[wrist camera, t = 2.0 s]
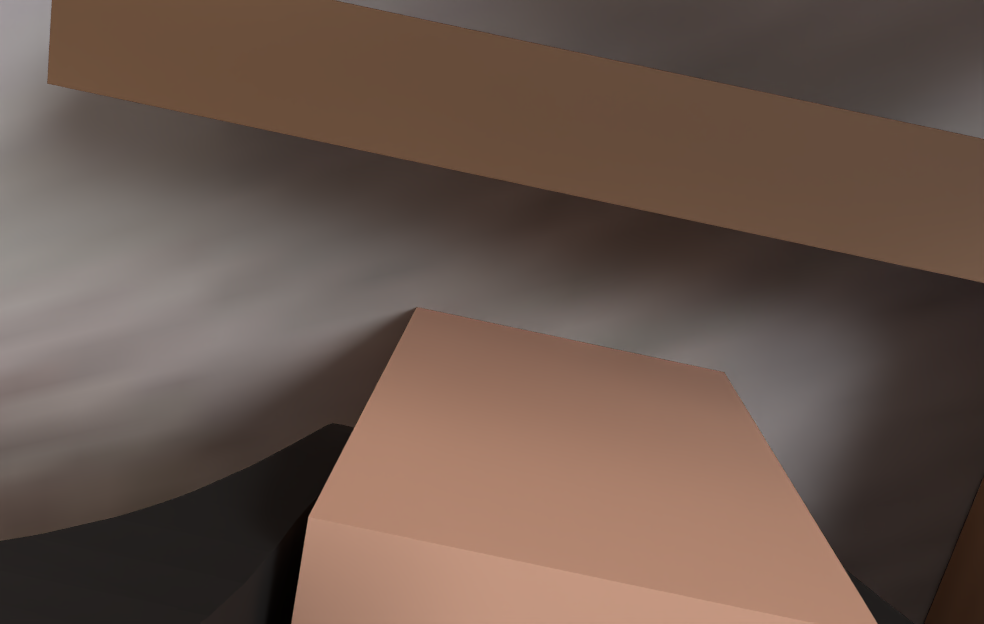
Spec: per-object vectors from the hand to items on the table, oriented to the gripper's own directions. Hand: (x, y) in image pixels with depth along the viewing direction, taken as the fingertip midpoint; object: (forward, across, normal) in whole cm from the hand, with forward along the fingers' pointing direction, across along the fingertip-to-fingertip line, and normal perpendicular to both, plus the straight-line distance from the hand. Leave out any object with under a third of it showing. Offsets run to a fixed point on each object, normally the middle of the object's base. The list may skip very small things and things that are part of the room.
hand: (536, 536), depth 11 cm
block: (+2, 0, 0) cm, 2 cm away
